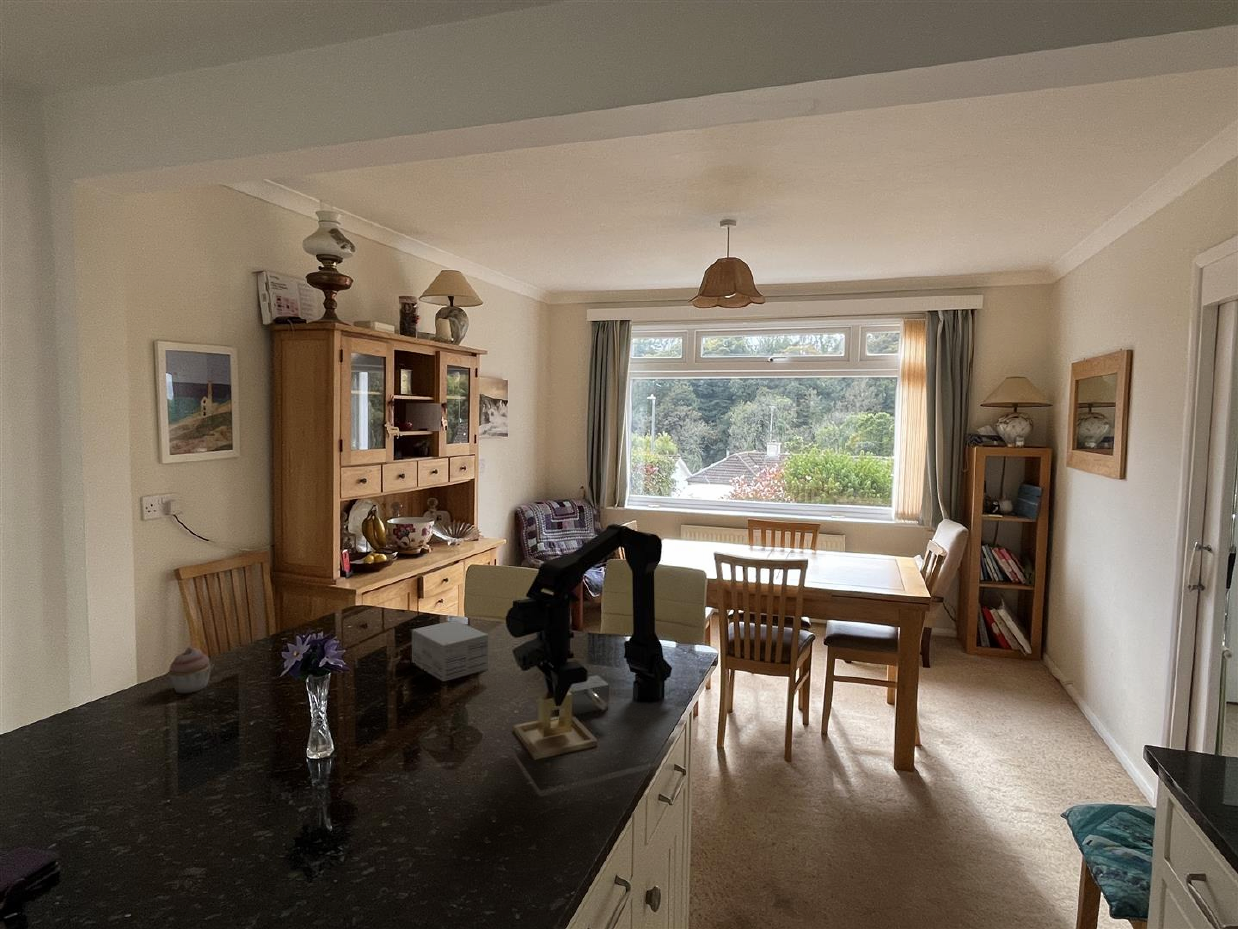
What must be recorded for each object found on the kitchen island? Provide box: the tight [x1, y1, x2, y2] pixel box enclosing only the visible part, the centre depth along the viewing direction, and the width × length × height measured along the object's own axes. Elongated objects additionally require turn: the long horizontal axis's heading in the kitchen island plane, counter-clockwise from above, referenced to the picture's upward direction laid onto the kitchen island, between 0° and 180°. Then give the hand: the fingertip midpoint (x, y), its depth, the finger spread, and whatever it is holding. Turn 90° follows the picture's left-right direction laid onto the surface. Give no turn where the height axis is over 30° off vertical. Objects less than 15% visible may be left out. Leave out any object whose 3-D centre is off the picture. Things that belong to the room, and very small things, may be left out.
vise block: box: [569, 674, 610, 716], centre depth 145 cm, size 11×14×6 cm
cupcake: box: [166, 646, 215, 694], centre depth 155 cm, size 9×9×10 cm
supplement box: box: [411, 620, 489, 682], centre depth 172 cm, size 17×13×9 cm
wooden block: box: [537, 691, 572, 738], centre depth 133 cm, size 6×3×8 cm, turn 117°
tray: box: [512, 714, 598, 761], centre depth 134 cm, size 13×13×2 cm
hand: (555, 702), depth 133 cm, fingers closed on wooden block, 3 cm apart
